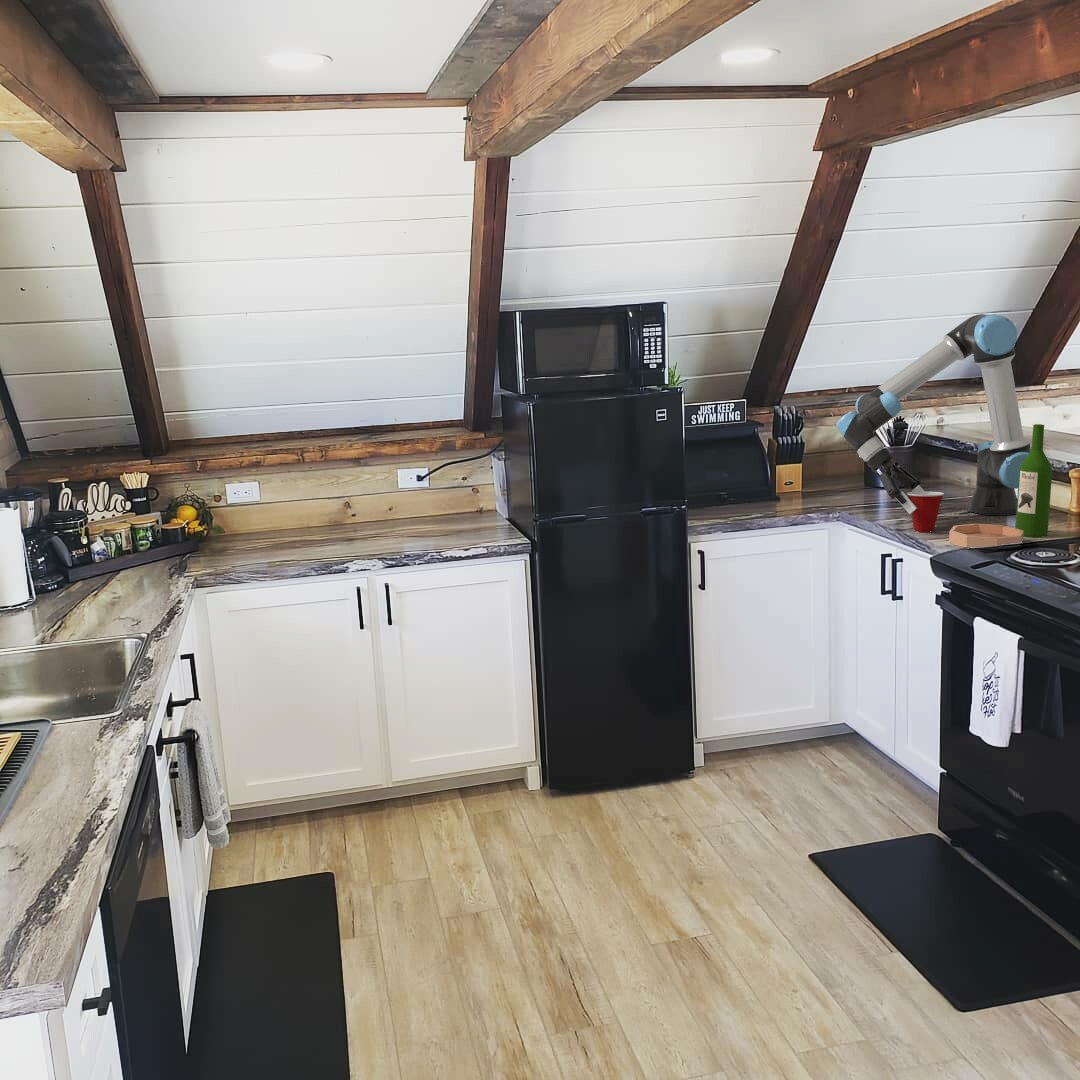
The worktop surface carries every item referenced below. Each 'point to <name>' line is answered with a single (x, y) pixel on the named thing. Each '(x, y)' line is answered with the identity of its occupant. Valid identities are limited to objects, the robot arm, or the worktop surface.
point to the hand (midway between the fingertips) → (921, 507)
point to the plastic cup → (925, 509)
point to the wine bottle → (1034, 489)
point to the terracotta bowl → (984, 535)
